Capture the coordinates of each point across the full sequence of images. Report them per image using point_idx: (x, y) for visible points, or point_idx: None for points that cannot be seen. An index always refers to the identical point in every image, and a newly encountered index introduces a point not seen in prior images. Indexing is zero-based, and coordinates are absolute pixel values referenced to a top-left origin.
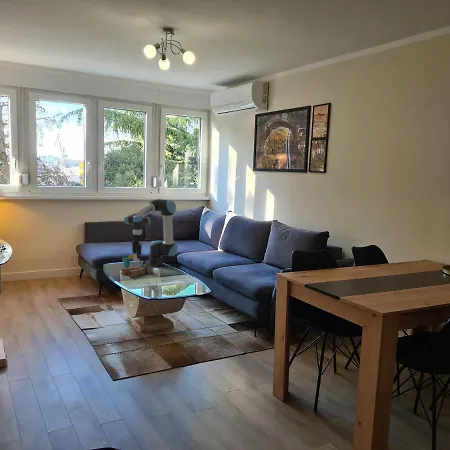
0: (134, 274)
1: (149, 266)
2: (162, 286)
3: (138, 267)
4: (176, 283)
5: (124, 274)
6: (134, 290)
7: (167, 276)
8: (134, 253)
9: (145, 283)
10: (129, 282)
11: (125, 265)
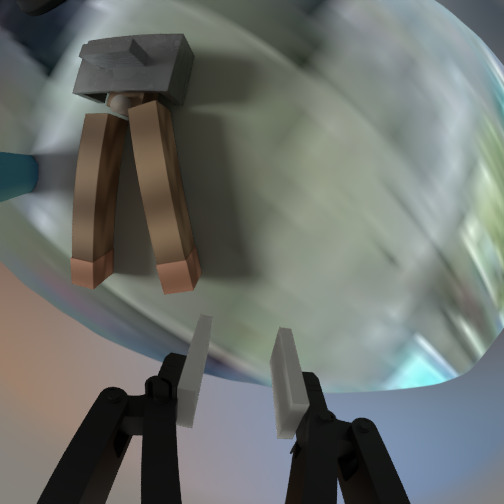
0: (190, 244)
1: (161, 62)
2: (466, 242)
3: (96, 143)
4: (472, 135)
5: (112, 262)
6: (407, 385)
7: (330, 36)
8: (177, 415)
9: (377, 283)
10: None
11: (13, 193)
